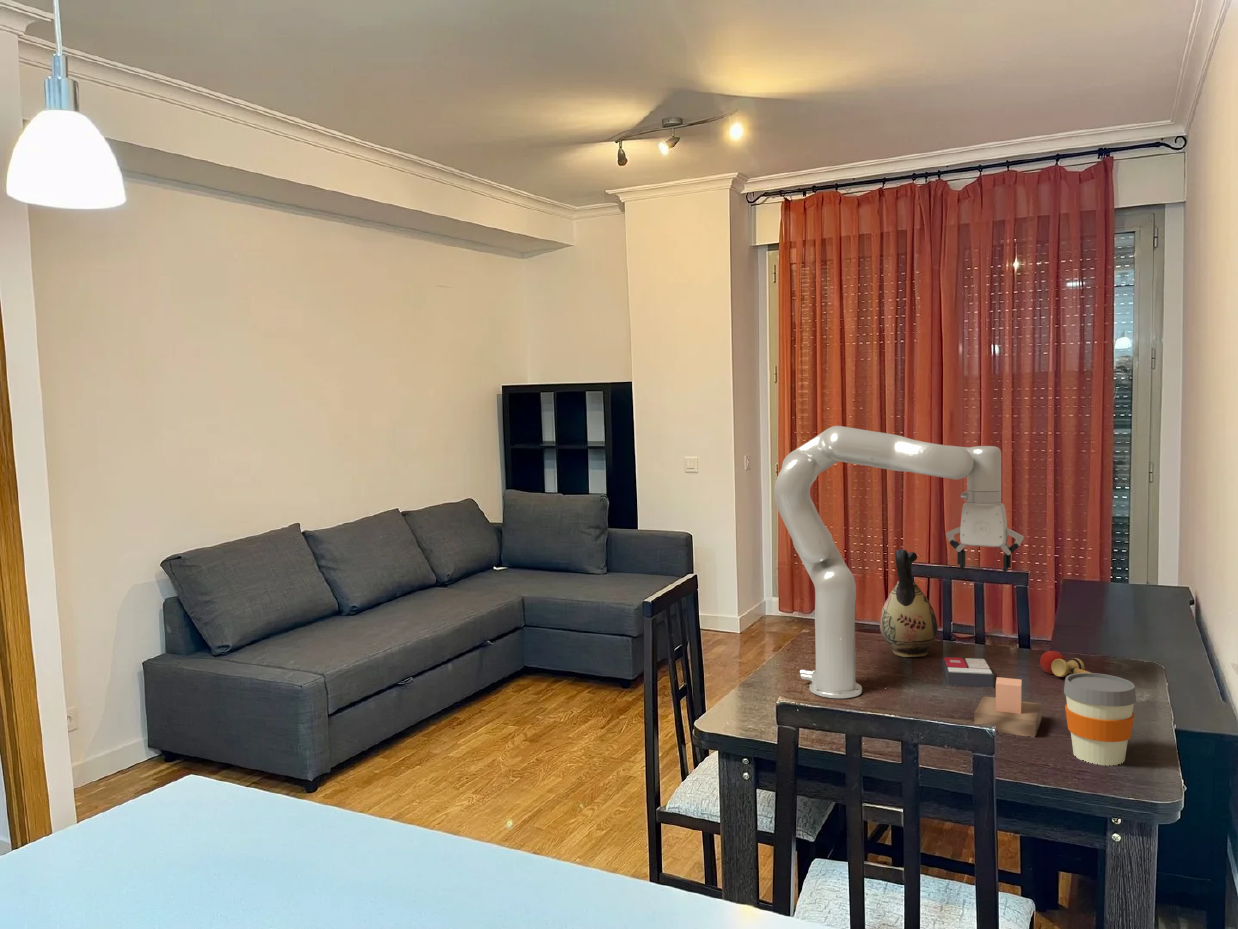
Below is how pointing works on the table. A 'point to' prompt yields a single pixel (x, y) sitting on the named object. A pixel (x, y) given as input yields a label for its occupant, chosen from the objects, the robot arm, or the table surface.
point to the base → (1009, 717)
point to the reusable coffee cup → (1099, 716)
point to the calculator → (967, 672)
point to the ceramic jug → (908, 613)
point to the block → (1008, 695)
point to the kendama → (1061, 664)
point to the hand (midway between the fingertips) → (983, 569)
